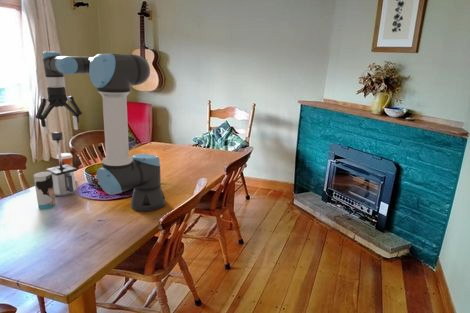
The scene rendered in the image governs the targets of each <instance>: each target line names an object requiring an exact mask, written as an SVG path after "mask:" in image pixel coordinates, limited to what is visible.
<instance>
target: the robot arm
mask: <svg viewBox="0 0 470 313" xmlns="http://www.w3.org/2000/svg"><path fill="white" fill-rule="evenodd" d="M42 62H43V70H44V75H45V76H44V77H45V83H46V86H47V87H46V90H47V98H46V97H41V98H40V104H39V107H38V109H37V112H36V115H35V118H36V119H37V120H39V121H40V125H41V127H43V130H44V134H45V135H49V134H50V131H49V125H48V124H49V123H48V120H47V117H48V116H49V115H50V113H51V112H52V110H53V109H54V108H59V107H64V108H65V109H67V110H68V111H69V113H71V114H72V124H73V130H75V131H78V130H79V127H78V123H80V122H79V120H80V118H79V117H80V116H81V115H82V114H83V112H82V110H81V109H80V107H79V106H78V104H77V103H76V102H75V98H74V96H72V95H68V96H67V90H66V87H65V85H66V83H65V75H81V74H82V75H86V74H87V75H88V74H89V79H90V82H91V84H92V85H93V86H94V87H95V88H97V89H96V90H97V92H98V94H100V95H101V97H102V112H103V113H102V115H103V132H104V145H105V157H104V158H103V159H102V161H101V162H102V164H101V165H102V166H101V167H99V168H97V171H96V179H97V182H98V184H99V186H100V188H101V189H102V190H103V191H104V192H105V193H106V194H108V195H111V196H113V195H116V194H121V193H123V192H126V191H129V190H132V189H133V191H132V195H131V196H132V197H131V199H130V208H132V209H133V210H134V211H138V212H152V211H153V212H154V211H157V210H160V209H162V208H163V207H164V206H166V197H165V194H164V192H163V189H162V182H161V180H162V179H161V160H160V158H159V156H158V155H155V154H150V153H134V154H133V155H132V156H130V150H129V125H128V124H129V122H128V105H127V104H128V103H127V102H128V101H127V100H128V99H127V98H128V97H127V96H128V95H130V93H131V87H132V86H139V85H142V84H144V83H145V82H147V80H148V79H149V78H150V75H151V67H150V64H149V62H148V61H147V60H146V58H145V57H143V56H141V55H137V54H129V53H126V54H125V53H97V54H96V55H95V56H70V55H69V56H68V55H62V53H61V52H60V51H43V52H42ZM67 101H69V103H70V104H71V106H72V107H71V106H70V105H69V103H67ZM47 102H48V105H47V107H46V104H47ZM45 107H46V109H45Z"/></svg>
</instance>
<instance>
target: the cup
mask: <svg viewBox="0 0 470 313" xmlns="http://www.w3.org/2000/svg"><path fill="white" fill-rule="evenodd" d="M33 182H34V186H35V188H34V189H35V193H36V201H37V206H38V209H39V210H41V211H45V210H51V209H53V208H55V207H57V202H56V200H57V199H56V197H55V193H54V186H53V178H52V173H51V172H47V171H40V172H36V173H34V174H33Z"/></svg>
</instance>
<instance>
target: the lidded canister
mask: <svg viewBox="0 0 470 313" xmlns="http://www.w3.org/2000/svg"><path fill="white" fill-rule="evenodd" d="M76 171H78V169H77V168H76V167H74V166H73V167H72V166H70V165H67V164H66V165H63V169H62V170H60V166H58V165H57V166H53V167H49V168H46V169H45V172H51V173H52V178H53V186H54V193H55V198H62V197H63V198H65V197H70V196H73V195H74V194H76V193H77V188H76V182H75V172H76Z"/></svg>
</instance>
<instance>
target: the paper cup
mask: <svg viewBox="0 0 470 313" xmlns="http://www.w3.org/2000/svg"><path fill="white" fill-rule="evenodd" d="M61 158H62V165H66V164H67V165H70V166H72V167H74V166H73V154H72V153H71V152H63V153H62V152H61ZM56 159H57V166H60V165H59V157H58V154H57V155H56Z"/></svg>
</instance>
